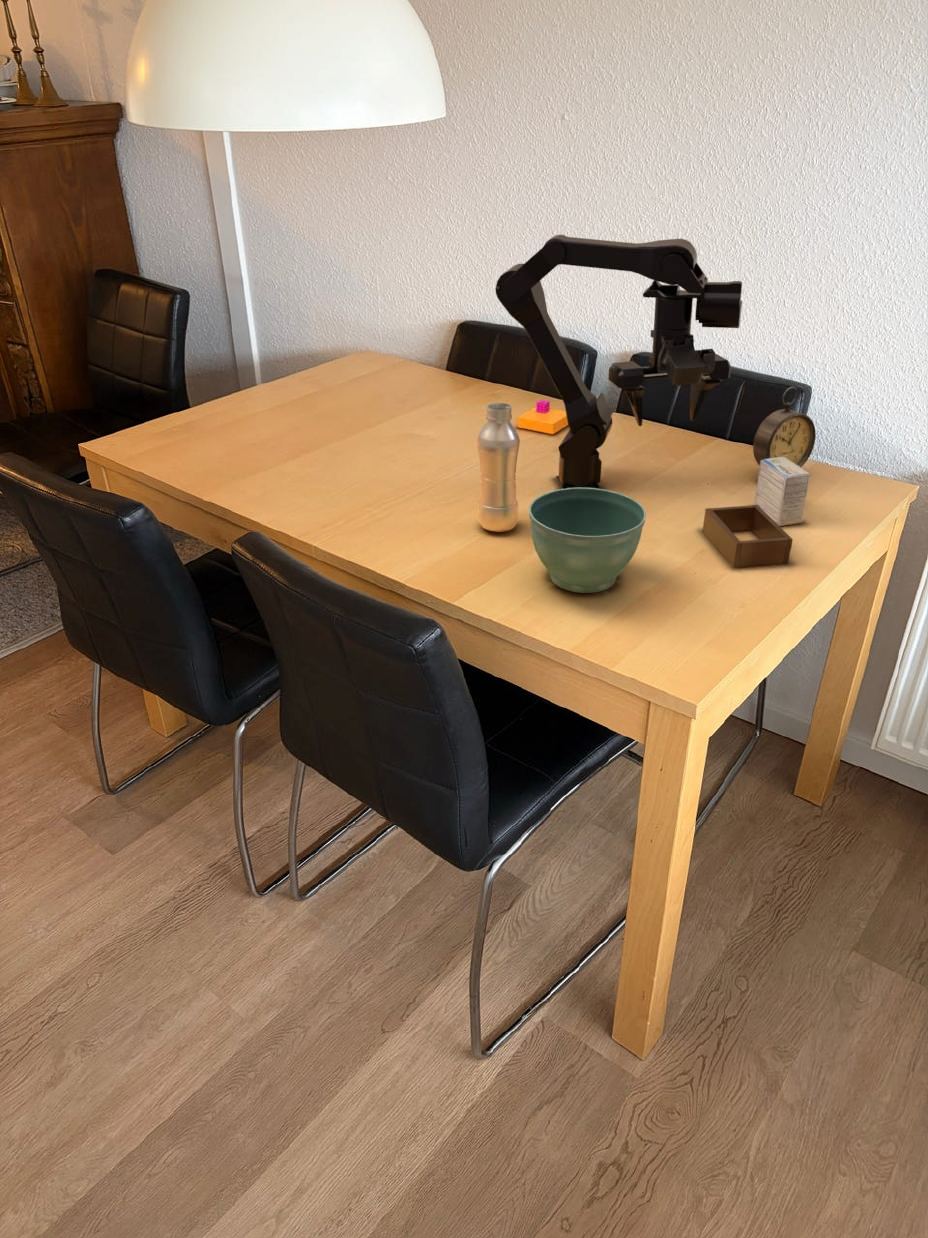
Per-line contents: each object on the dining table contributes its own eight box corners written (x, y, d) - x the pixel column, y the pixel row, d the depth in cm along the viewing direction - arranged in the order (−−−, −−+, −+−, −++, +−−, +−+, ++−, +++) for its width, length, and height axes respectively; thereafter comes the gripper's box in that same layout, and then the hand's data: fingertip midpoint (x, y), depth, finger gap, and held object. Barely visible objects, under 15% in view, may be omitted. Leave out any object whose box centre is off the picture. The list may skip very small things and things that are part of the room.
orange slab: (571, 422, 198) (572, 402, 196) (552, 434, 193) (553, 413, 190) (536, 416, 202) (537, 396, 200) (517, 427, 196) (518, 406, 194)
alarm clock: (763, 486, 170) (778, 395, 162) (742, 476, 174) (755, 387, 166) (810, 475, 174) (827, 386, 166) (789, 465, 178) (804, 377, 170)
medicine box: (802, 524, 157) (811, 473, 152) (777, 527, 156) (786, 476, 151) (776, 504, 163) (784, 455, 159) (752, 507, 162) (760, 458, 158)
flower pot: (663, 586, 139) (670, 516, 134) (573, 618, 132) (577, 545, 126) (590, 544, 151) (595, 479, 145) (505, 571, 143) (506, 503, 138)
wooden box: (733, 567, 144) (736, 543, 142) (702, 531, 155) (705, 508, 153) (788, 563, 145) (792, 539, 143) (753, 527, 156) (757, 504, 154)
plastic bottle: (506, 540, 152) (508, 416, 142) (469, 530, 155) (468, 408, 145) (526, 525, 157) (529, 404, 147) (489, 516, 160) (490, 396, 150)
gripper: (633, 342, 145) (628, 443, 152) (750, 332, 148) (740, 431, 155) (609, 326, 154) (605, 422, 162) (719, 317, 157) (711, 412, 165)
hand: (666, 422), depth 161 cm, fingers open, 9 cm apart
